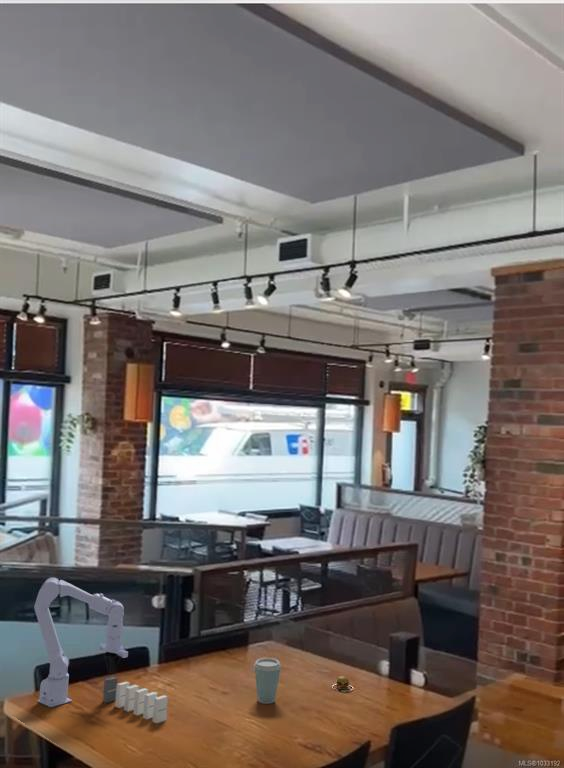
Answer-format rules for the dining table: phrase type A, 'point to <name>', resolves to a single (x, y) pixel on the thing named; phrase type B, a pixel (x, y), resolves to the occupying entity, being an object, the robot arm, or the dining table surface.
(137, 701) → the tile
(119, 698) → the tile
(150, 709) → the tile
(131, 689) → the tile
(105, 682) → the tile
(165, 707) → the tile
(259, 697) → the disposable coffee cup
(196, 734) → the dining table surface
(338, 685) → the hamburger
